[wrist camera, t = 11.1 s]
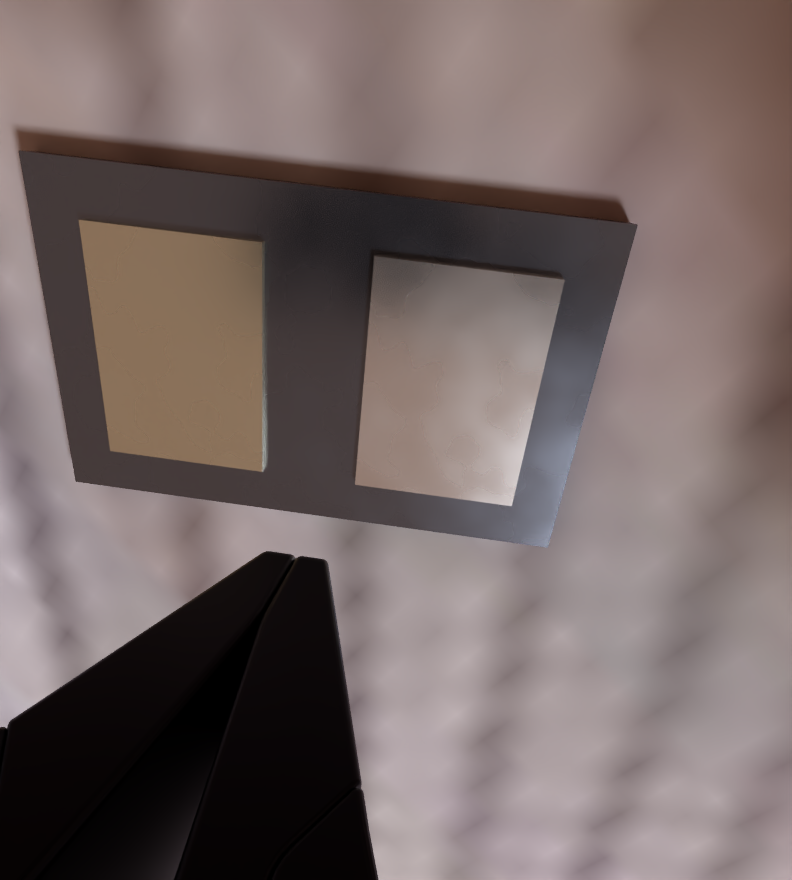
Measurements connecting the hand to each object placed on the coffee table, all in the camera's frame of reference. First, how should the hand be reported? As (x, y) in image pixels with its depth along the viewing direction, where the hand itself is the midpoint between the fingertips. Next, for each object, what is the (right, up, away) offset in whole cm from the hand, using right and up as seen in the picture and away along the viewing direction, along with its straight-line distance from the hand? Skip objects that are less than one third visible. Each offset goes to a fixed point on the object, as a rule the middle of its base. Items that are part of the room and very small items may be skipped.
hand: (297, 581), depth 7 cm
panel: (-1, +4, +9) cm, 10 cm away
